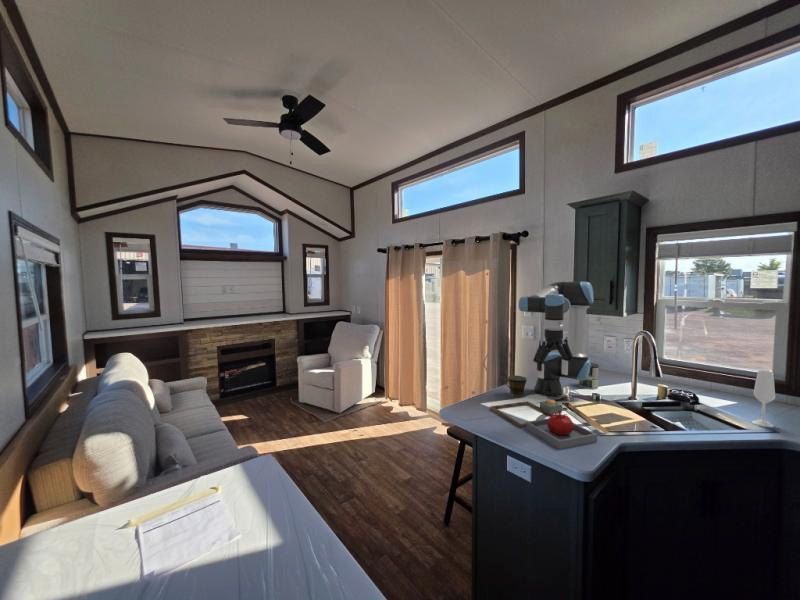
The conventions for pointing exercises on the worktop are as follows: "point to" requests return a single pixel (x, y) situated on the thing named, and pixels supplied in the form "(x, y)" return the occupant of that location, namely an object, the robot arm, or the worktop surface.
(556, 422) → the pomegranate
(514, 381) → the ceramic cup
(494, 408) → the wooden flat square frame
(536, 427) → the tray
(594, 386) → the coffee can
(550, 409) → the button housing
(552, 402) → the button
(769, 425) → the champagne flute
